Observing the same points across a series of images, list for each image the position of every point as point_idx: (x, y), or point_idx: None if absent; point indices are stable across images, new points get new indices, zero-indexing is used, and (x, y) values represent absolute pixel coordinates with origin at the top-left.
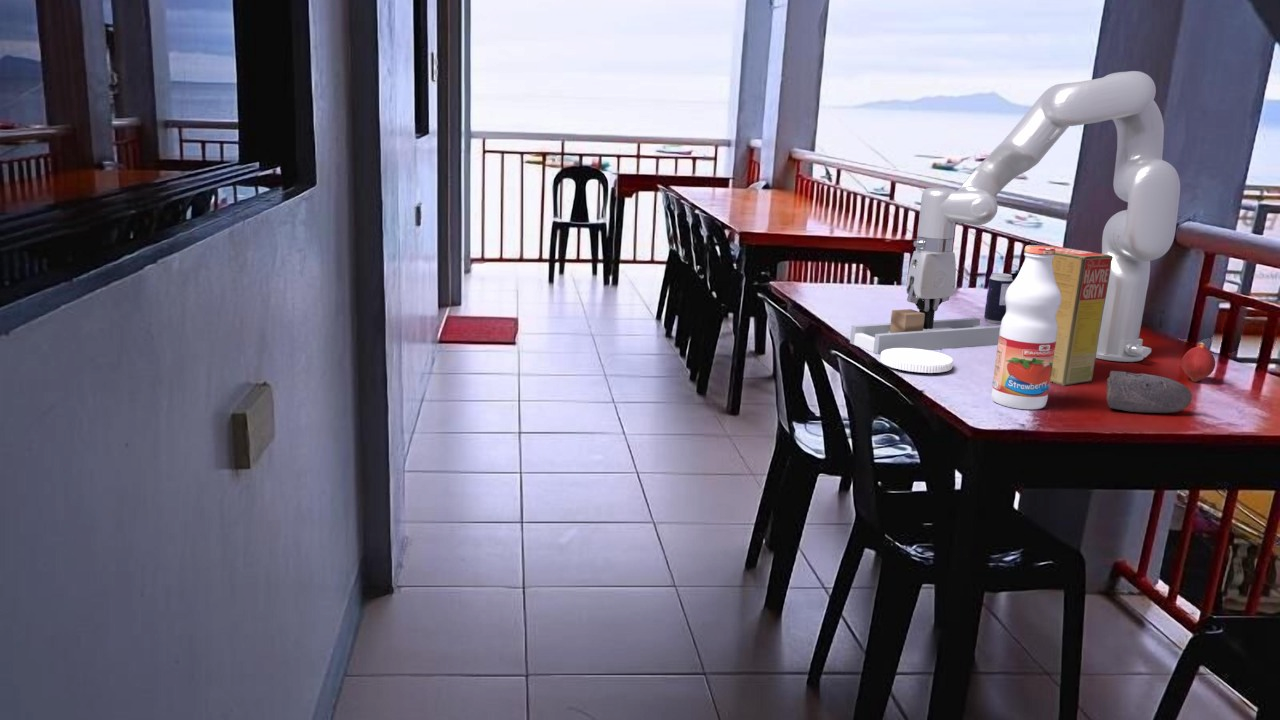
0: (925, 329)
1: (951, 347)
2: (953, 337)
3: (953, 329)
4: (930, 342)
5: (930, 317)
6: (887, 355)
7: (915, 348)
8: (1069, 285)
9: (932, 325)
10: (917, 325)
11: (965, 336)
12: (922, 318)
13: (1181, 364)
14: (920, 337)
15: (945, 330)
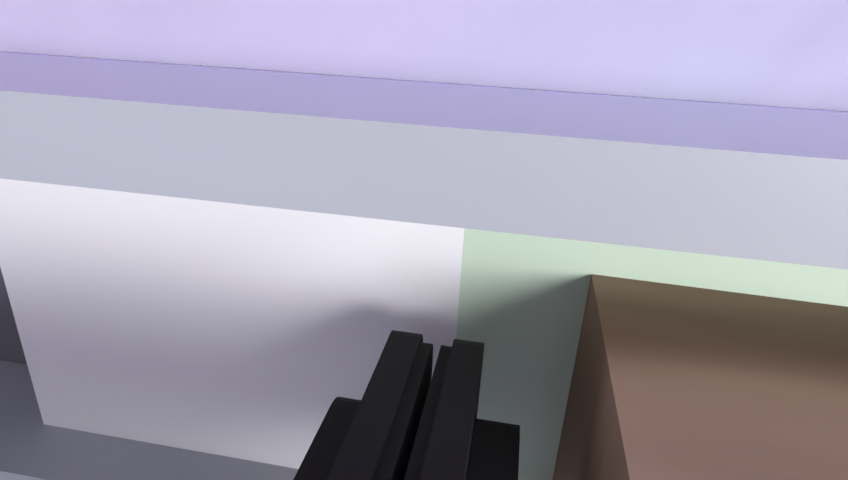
0: None
1: (306, 73)
2: (248, 88)
3: (176, 159)
4: (609, 109)
5: (416, 443)
6: None
7: (825, 116)
8: None
9: (391, 351)
10: (735, 368)
11: (75, 75)
12: (666, 432)
13: None
14: (821, 143)
15: (329, 150)
